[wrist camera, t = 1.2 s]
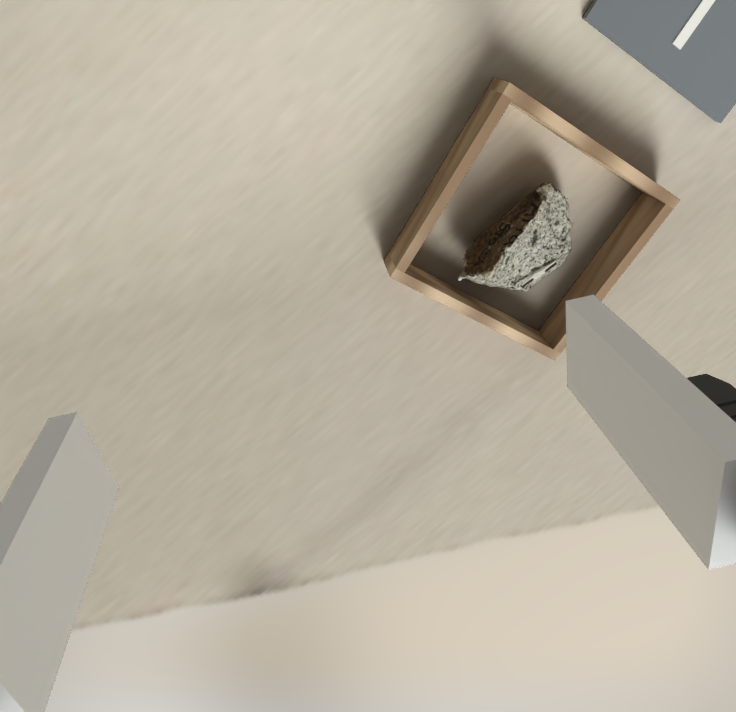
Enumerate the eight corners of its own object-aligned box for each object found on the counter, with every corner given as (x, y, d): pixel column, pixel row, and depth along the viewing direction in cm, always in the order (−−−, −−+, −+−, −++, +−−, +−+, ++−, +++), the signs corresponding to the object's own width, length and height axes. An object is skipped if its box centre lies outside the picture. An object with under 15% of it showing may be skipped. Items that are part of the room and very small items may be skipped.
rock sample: (541, 341, 50) (540, 305, 42) (461, 302, 53) (445, 262, 45) (601, 236, 51) (611, 182, 43) (519, 204, 54) (514, 147, 46)
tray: (383, 261, 49) (390, 277, 46) (493, 77, 43) (509, 82, 40) (539, 341, 55) (554, 360, 52) (655, 188, 49) (680, 199, 46)
